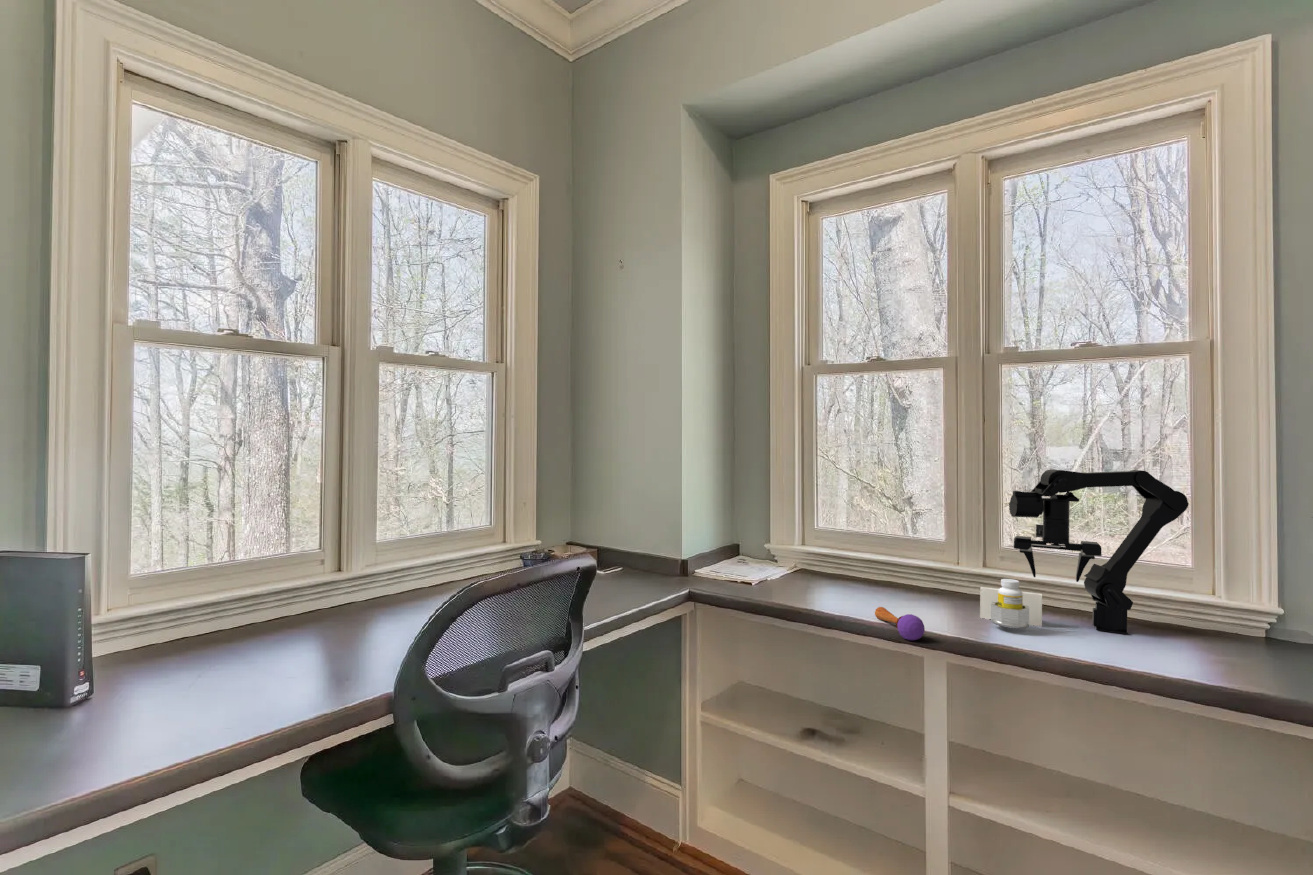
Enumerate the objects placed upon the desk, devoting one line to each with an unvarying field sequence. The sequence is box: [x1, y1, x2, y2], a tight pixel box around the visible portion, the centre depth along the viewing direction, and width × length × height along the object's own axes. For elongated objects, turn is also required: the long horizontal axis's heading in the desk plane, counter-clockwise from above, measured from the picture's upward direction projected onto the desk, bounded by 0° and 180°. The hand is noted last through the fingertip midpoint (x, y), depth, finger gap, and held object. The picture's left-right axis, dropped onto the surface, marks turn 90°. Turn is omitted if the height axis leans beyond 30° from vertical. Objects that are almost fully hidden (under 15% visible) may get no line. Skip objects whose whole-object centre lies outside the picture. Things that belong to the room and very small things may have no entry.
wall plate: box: [979, 586, 1043, 627], centre depth 163 cm, size 14×2×8 cm, turn 60°
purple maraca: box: [874, 606, 925, 642], centre depth 154 cm, size 6×6×20 cm
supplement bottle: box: [998, 578, 1023, 609], centre depth 156 cm, size 5×5×10 cm
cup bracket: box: [990, 601, 1030, 629], centre depth 157 cm, size 8×11×4 cm
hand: (1055, 579), depth 159 cm, fingers open, 9 cm apart
